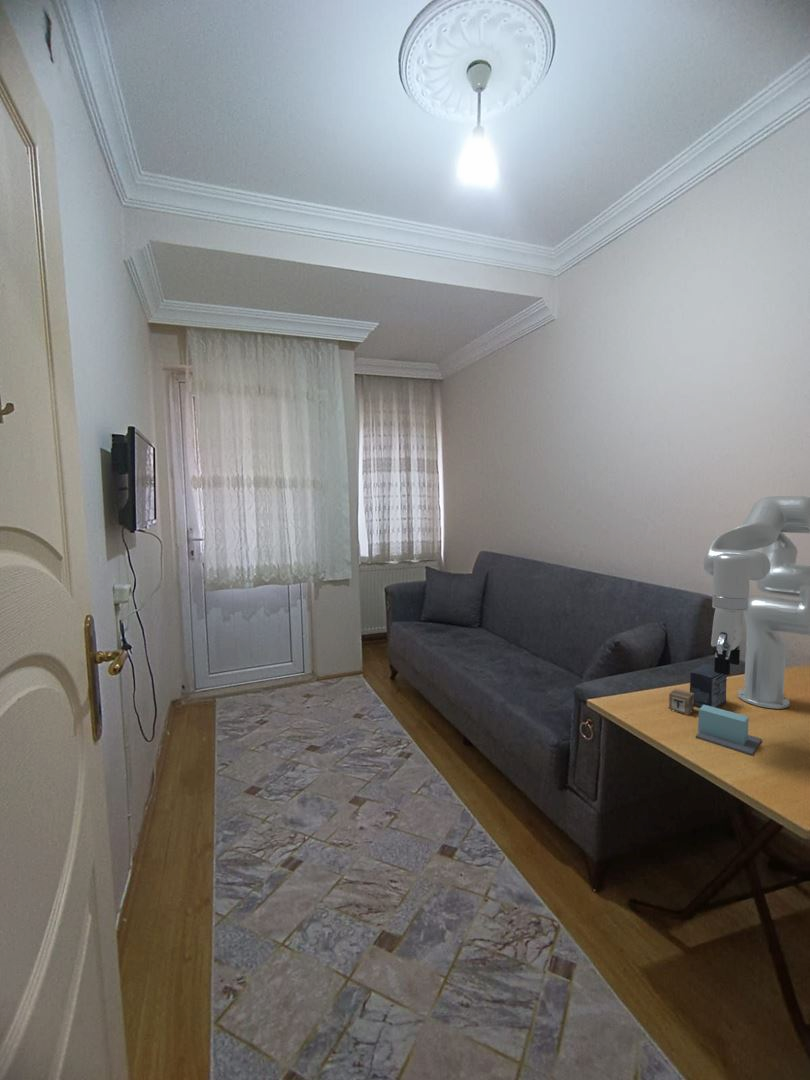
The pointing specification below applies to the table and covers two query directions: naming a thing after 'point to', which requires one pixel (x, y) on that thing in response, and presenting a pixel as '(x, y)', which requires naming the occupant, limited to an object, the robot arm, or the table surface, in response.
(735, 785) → the table surface
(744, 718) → the teal rectangular block
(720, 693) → the small box
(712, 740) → the dark gray block
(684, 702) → the wooden letter block
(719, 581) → the robot arm
